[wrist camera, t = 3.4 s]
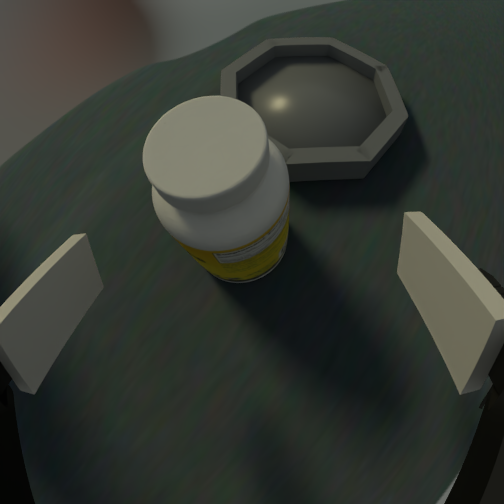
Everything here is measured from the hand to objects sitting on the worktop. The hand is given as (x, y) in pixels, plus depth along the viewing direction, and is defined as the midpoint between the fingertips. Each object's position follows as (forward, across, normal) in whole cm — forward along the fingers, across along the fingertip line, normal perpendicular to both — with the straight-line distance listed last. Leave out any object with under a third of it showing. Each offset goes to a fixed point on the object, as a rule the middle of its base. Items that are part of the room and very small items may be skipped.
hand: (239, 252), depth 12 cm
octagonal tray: (+16, +5, +4) cm, 17 cm away
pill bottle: (+8, -1, -4) cm, 9 cm away
